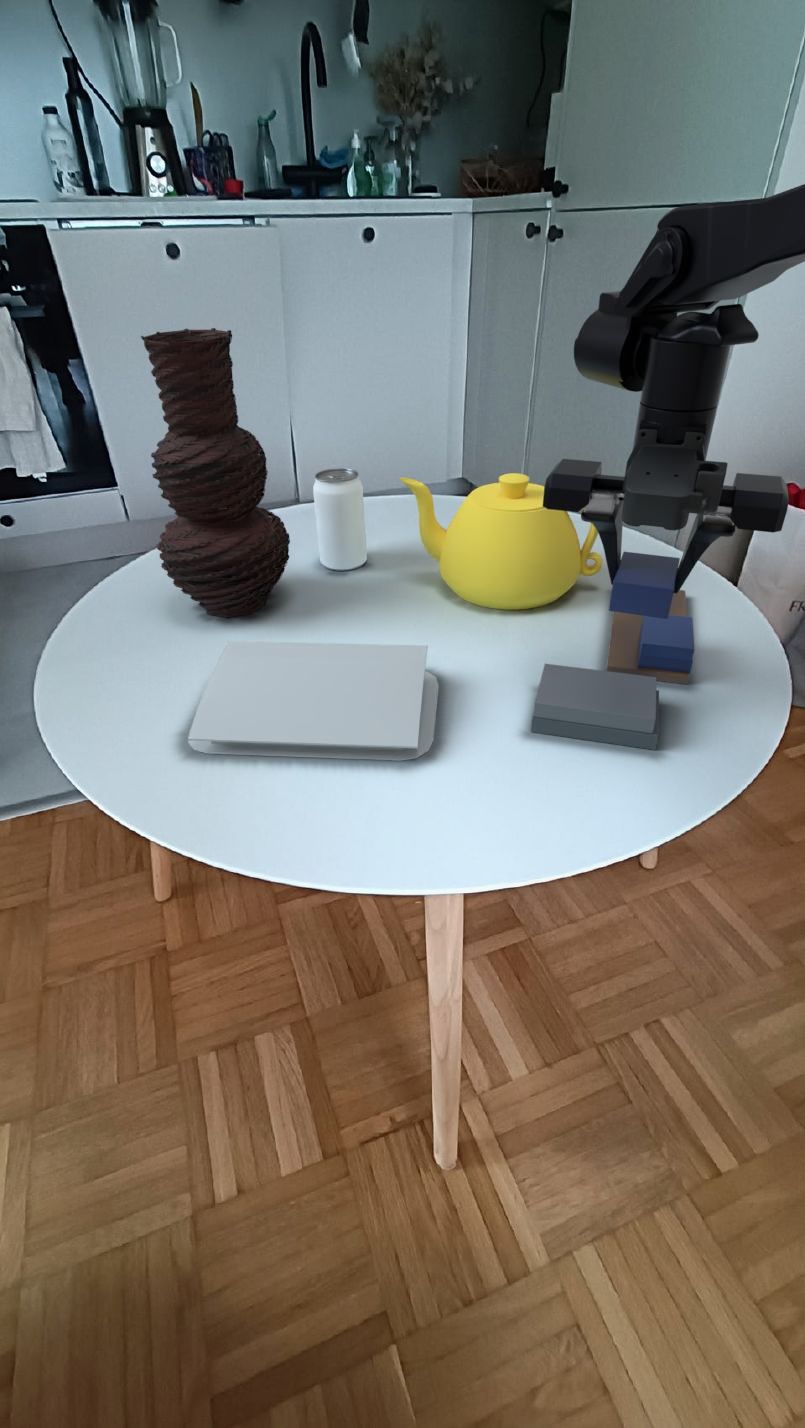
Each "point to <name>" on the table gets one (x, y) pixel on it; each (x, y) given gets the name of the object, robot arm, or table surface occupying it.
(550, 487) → the robot arm
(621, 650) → the board
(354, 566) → the can
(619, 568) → the navy block
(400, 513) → the table surface
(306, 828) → the table surface
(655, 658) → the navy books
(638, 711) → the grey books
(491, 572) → the teapot
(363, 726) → the book
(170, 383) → the vase
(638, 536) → the table surface
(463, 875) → the table surface
